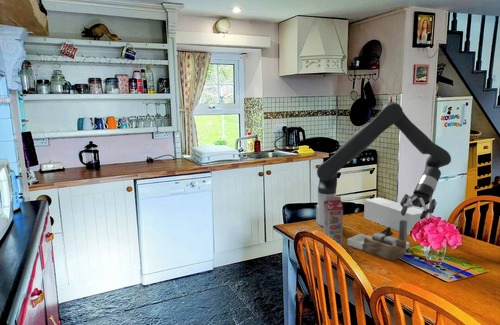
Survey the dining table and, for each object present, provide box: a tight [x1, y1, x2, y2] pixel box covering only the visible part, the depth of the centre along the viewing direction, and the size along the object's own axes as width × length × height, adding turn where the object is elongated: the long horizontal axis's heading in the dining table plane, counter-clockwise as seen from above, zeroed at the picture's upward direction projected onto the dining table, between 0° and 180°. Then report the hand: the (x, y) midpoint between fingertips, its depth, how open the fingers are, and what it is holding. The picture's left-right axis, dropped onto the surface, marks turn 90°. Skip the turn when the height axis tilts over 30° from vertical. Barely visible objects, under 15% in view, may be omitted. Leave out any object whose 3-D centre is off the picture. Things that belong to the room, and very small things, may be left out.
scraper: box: [398, 220, 410, 250], centre depth 156 cm, size 3×6×12 cm, turn 129°
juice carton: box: [322, 196, 344, 247], centre depth 162 cm, size 7×7×22 cm
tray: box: [346, 233, 372, 251], centre depth 162 cm, size 8×10×3 cm
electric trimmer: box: [380, 227, 392, 236], centre depth 172 cm, size 4×16×3 cm, turn 143°
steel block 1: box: [371, 232, 386, 243], centre depth 155 cm, size 4×4×4 cm
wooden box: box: [363, 236, 407, 261], centre depth 153 cm, size 14×10×6 cm
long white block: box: [363, 197, 429, 236], centre depth 187 cm, size 32×11×11 cm, turn 25°
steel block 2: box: [384, 235, 399, 249], centre depth 150 cm, size 4×4×4 cm
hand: (411, 217), depth 159 cm, fingers open, 8 cm apart
